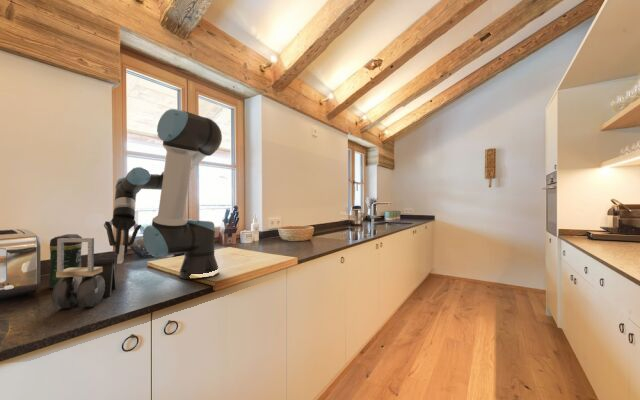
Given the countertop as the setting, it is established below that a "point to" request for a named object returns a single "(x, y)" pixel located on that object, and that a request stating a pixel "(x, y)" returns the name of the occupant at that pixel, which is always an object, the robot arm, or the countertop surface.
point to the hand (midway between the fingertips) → (120, 262)
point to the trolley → (77, 281)
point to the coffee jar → (70, 256)
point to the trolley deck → (79, 272)
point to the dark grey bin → (107, 274)
